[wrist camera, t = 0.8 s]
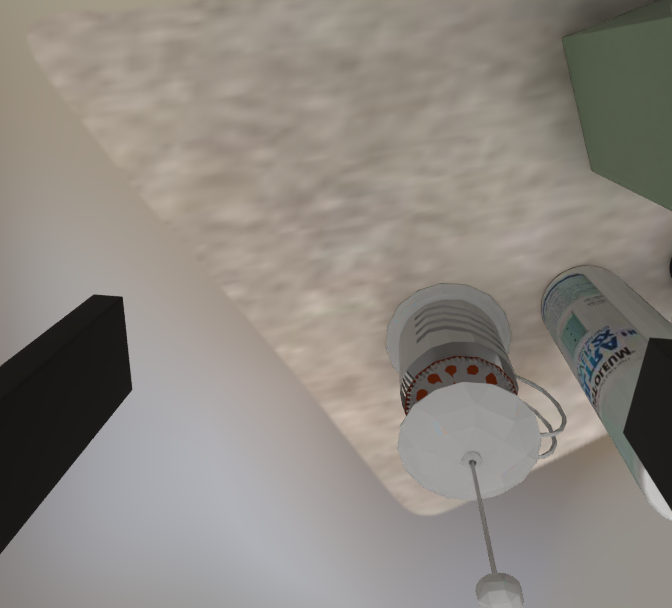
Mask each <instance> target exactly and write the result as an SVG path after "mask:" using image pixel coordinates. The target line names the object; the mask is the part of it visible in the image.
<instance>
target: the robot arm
mask: <svg viewBox="0 0 672 608" xmlns="http://www.w3.org/2000/svg"><path fill="white" fill-rule="evenodd" d="M131 390H132V382H131V373H130V363H129V354H128V345H127V334H126V325H125V315H124V306H123V297H119V296H105V295H93V296H91V297H90V298H89V299H87V300H86V301H85V302H84V303H82V304H81V305H80V306H78V307H77V308H76V309H74V310H73V311H72V312H70V313H69V314H68V315H66V316H65V317H64V318H63V319H62V320H60V321H59V322H57V323H56V324H55V325H53V326H52V327H51V328H49V329H48V330H47V331H46V332H44V333H43V334H42V335H40V336H39V337H38V338H37V339H35V340H34V341H33V342H31V343H30V344H29V345H27V346H26V347H25V348H23V349H22V350H21V351H20V352H18V353H17V354H16V355H14V356H13V357H12V358H10V359H9V360H8V361H6V362H5V363H4V364H3V365H1V366H0V554H1V552H2V551H3V550H4V549H5V548H6V546H7V545H8V544H9V542H10V541H11V540H12V539H13V537H14V536H15V535H16V534H17V533H18V531H19V530H20V529H21V528H22V526H23V525H24V524H25V523H26V521H27V520H28V519H29V518H30V516H31V515H32V514H33V513H34V511H35V510H36V509H37V508H38V506H39V505H40V504H41V503H42V501H43V500H44V499H45V498H46V496H47V495H48V494H49V493H50V491H51V490H52V489H53V488H54V487H55V485H56V484H57V483H58V482H59V480H60V479H61V478H62V477H63V475H64V474H65V473H66V471H67V470H68V469H69V467H71V465H72V464H73V463H74V462H75V460H76V459H77V458H78V457H79V455H80V454H81V453H82V451H83V450H84V449H85V448H86V447H87V445H88V444H89V443H90V442H91V440H92V439H93V438H94V437H95V435H96V434H97V433H98V432H99V430H100V429H101V428H102V427H103V425H104V424H105V423H106V422H107V421H108V419H109V418H110V417H111V416H112V414H113V413H114V412H115V411H116V409H117V408H118V407H119V406H120V404H121V403H122V402H123V400H124V399H125V398H126V397H127V396H128V394H129V393H130V392H131ZM623 434H624V436H625V437H626V439H627V440H628V442H629V444H630V445H631V447H632V448H633V450H634V452H635V453H636V455H637V456H638V458H639V460H640V461H641V463H642V464H643V466H644V468H645V469H646V471H647V472H648V474H649V476H650V477H651V479H652V480H653V482H654V484H655V485H656V487H657V488H658V490H659V492H660V493H661V495H662V496H663V498H664V500H665V501H666V503H667V505H668V506H669V508H670V509H671V511H672V339H664V338H651V337H649V341H648V345H647V348H646V352H645V355H644V359H643V362H642V366H641V370H640V373H639V377H638V380H637V384H636V387H635V391H634V395H633V398H632V402H631V405H630V409H629V412H628V416H627V420H626V423H625V427H624V430H623Z"/></svg>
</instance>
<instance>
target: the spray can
mask: <svg viewBox="0 0 672 608" xmlns="http://www.w3.org/2000/svg"><path fill="white" fill-rule="evenodd" d="M541 309H542V318H543V320H544V323H545V325H546V327H547V329H548V330H549V332H550V334H551V336H552V337H553V339H554V341H555V343H556V344H557V346H558V348H559V349H560V351H561V353H562V355H563V356H564V358H565V360H566V361H567V363H568V365H569V367H570V368H571V370H572V372H573V374H574V375H575V377H576V379H577V380H578V382H579V384H580V386H581V387H582V389H583V391H584V392H585V394H586V396H587V398H588V399H589V401H590V403H591V405H592V406H593V408H594V410H595V411H596V413H597V415H598V417H599V418H600V420H601V422H602V423H603V425H604V427H605V429H606V430H607V432H608V434H609V436H610V437H611V439H612V441H613V442H614V444H615V446H616V448H617V449H618V451H619V453H620V454H621V456H622V458H623V459H624V461H625V463H626V465H627V466H628V468H629V470H630V472H631V473H632V475H633V477H634V479H635V480H636V482H637V484H638V485H639V487H640V489H641V491H642V492H643V494H644V496H645V497H646V499H647V500H648V502H649V503H650V504H651V505H652V506H653V507H654V508H655V510H656V511H657V512H658V513H659V514H661V515H662V516H664V517H666V518H668V519H669V520H671V521H672V511H671V509H670V508H669V506H668V505H667V503H666V501H665V500H664V498H663V496H662V495H661V493H660V492H659V490H658V488H657V487H656V485H655V484H654V482H653V480H652V479H651V477H650V476H649V474H648V472H647V471H646V469H645V468H644V466H643V464H642V463H641V461H640V460H639V458H638V456H637V455H636V453H635V452H634V450H633V448H632V447H631V445H630V444H629V442H628V440H627V439H626V437H625V436H624V434H623V430H624V427H625V423H626V420H627V416H628V412H629V409H630V405H631V402H632V398H633V395H634V391H635V387H636V384H637V380H638V377H639V373H640V370H641V366H642V362H643V359H644V355H645V352H646V348H647V345H648V341H649V337H651V338H664V339H672V324H671V323H670V322H669V321H668V320H666V319H665V318H664V317H663V316H662V315H661V314H660V313H659V312H657V311H656V310H655V309H654V308H653V307H652V306H651V305H649V304H648V303H647V302H646V301H645V300H644V299H643V298H642V297H640V296H639V295H638V294H637V293H636V292H635V291H634V290H633V289H631V288H630V287H629V286H628V285H627V284H626V283H625V282H623V281H622V280H621V279H620V278H619V277H618V276H616V275H615V274H613V273H612V272H611V271H609V270H606V269H603V268H600V267H597V266H581V267H575V268H572V269H570V270H567V271H565V272H563V273H562V274H560V275H559V276H558V277H556V278H555V279H554V280H553V281H552V282H551V284H550V285H549V286H548V287H547V289H546V291H545V293H544V295H543V299H542V305H541Z"/></svg>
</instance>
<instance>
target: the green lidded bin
mask: <svg viewBox="0 0 672 608" xmlns="http://www.w3.org/2000/svg"><path fill="white" fill-rule="evenodd" d="M562 41H563V45H564V50H565V54H566V59H567V63H568V68H569V72H570V77H571V81H572V86H573V90H574V94H575V99H576V103H577V108H578V112H579V117H580V121H581V126H582V130H583V135H584V139H585V143H586V148H587V152H588V157H589V161H590V166H591V170H592V171H593V172H595V173H597V174H599V175H601V176H603V177H605V178H607V179H609V180H611V181H613V182H615V183H617V184H619V185H621V186H623V187H625V188H627V189H629V190H631V191H633V192H635V193H637V194H639V195H641V196H643V197H645V198H647V199H649V200H651V201H653V202H655V203H657V204H659V205H661V206H663V207H665V208H667V209H669V210H671V211H672V0H659V1H656V2H653V3H651V4H648V5H646V6H643V7H641V8H638V9H635V10H633V11H630V12H628V13H625V14H623V15H620V16H617V17H615V18H612V19H610V20H607V21H605V22H602V23H599V24H597V25H594V26H592V27H589V28H587V29H584V30H581V31H579V32H576V33H574V34H571V35H569V36H566V37H563V38H562Z"/></svg>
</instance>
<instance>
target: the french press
mask: <svg viewBox="0 0 672 608" xmlns="http://www.w3.org/2000/svg"><path fill="white" fill-rule="evenodd" d="M510 340H511V331H510V328H509V325H508V321H507V318H506V315H505V312H504V311H503V310H502V309H501V308H500V307H499V305H498V304H497V303H496V302H495V301H494V300H493V299H492V298H491V297H490V295H488V294H486V293H484V292H481V291H479V290H477V289H475V288H473V287H471V286H468V285H462V284H444V283H441V284H438V285H435V286H431V287H428V288H425V289H422V290H419V291H417V292H415V293H414V294H413V295H412V296H410V297H409V298H408V299H407V300H405V301H404V302H403V303H402V304H400V305H399V306H398V308H397V310H396V312H395V313H394V315H393V317H392V319H391V321H390V323H389V325H388V327H387V342H386V349H387V352H388V354H389V357H390V360H391V362H392V365H393V367H394V369H395V370H396V371H397V372H398V373H399V374H400V395H401V401H402V406H403V408H404V411H405V414H406V417H405V419H404V421H403V422H402V424H401V426H400V433H399V441H398V448H397V449H398V452H399V455H400V457H401V460H402V462H403V465H404V468H405V470H406V471H407V472H408V473H409V474H410V475H411V476H412V477H413V478H414V479H415V480H416V481H417V482H418V483H419V484H420V485H421V486H422V487H423V488H425V489H427V490H429V491H431V492H434V493H436V494H438V495H440V496H443V497H445V498H450V499H460V500H471V501H474V500H478V505H479V510H480V515H481V520H482V525H483V530H484V535H485V540H486V545H487V550H488V556H489V560H490V566H491V571H492V574H488V575H486V576H484V577H482V578H481V579H480V580H479V582H478V583H477V585H476V595H477V599H478V602H479V606H480V608H522V607H523V603H524V599H523V594H522V589H521V586H520V583H519V581H518V580H516V579H515V578H514V577H513V576H510V575H508V574H506V573H497V571H496V566H495V561H494V556H493V551H492V547H491V542H490V538H489V532H488V527H487V523H486V518H485V513H484V508H483V503H482V499H483V498H487V497H493V496H497V495H500V494H502V493H503V492H505V491H507V490H509V489H510V488H512V487H514V486H515V485H517V484H519V483H520V482H522V481H523V480H524V478H525V477H526V476H527V474H528V473H529V472H530V470H531V469H532V468H533V466H534V465H535V464H536V462H537V459H543V458H546V457H548V456H549V455H551V454H553V452H554V450H555V448H556V446H557V440H556V437H555V436H556V435H558V434H559V433H561V432H562V431H563V430H564V427H565V425H566V416H565V414H564V412H563V410H562V408H561V406H560V405H559V403H558V402H557V401H556V400H555V399H554V398H553V397H552V396H551V395H550V394H549V393H548V392H547V391H546V390H544V389H543V388H541V387H540V386H538V385H536V384H535V383H533V382H531V381H529V380H527V379H525V378H523V377H520V376H518V375H516V374H515V373H514V370H513V367H512V365H511V362H510V360H509V358H508V352H509V346H510ZM501 366H502V367H503V370H504V371H503V370H502V369H501ZM402 379H403V382H404V384H405V387H406V388H407V392H406V390H405V387H404V385H403V383H402ZM404 379H405V380H406V381H407V382H408V383H409V384H410V387H409V386H408V385H407V384H406V382H405V380H404ZM516 379H518V380H520V381H522V382H524V383H526V384H528V385H530V386H532V387H534V388H535V389H537V390H539V391H541V392H542V393H543V394H544V395H546V396H547V397H548V398H549V399H550V400H551V401H552V402H553V403H554V405H555V406H556V407H557V409H558V411H559V412H560V414H561V416H562V424H561V426H560V428H559V429H557V430H555V431H554V432H553V429H552V427H551V425H550V424H549V423H548V422H547V421H546V420H545V419H544V418H543V417H542V416H541V415H540V414H539V413H538V412H537V411H536V410H535V409H534V408H532V407H531V406H529V405H528V404H526V403H525V402H523V401H522V400H521V399H520V398H519V397H518V396H517V394H518V385H517V381H516ZM402 387H403V389H404V392H405V394H406V398H405V396H404V394H403V391H402ZM532 411H533V412H534V413H535V414H536V415H537V416H538V417H539V418H540V419H541V420H542V422H543V423H544V424H545V425H546V427H547V428H548V430H549V432H550V433H540V431H539V427H538V423H537V420H536V416H535V414H534V413H533V412H532ZM541 437H552V446H551V448H550V450H549V451H547V452H545V453H544V454H542V455H538V454H539V449H540V444H541V439H542V438H541Z"/></svg>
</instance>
